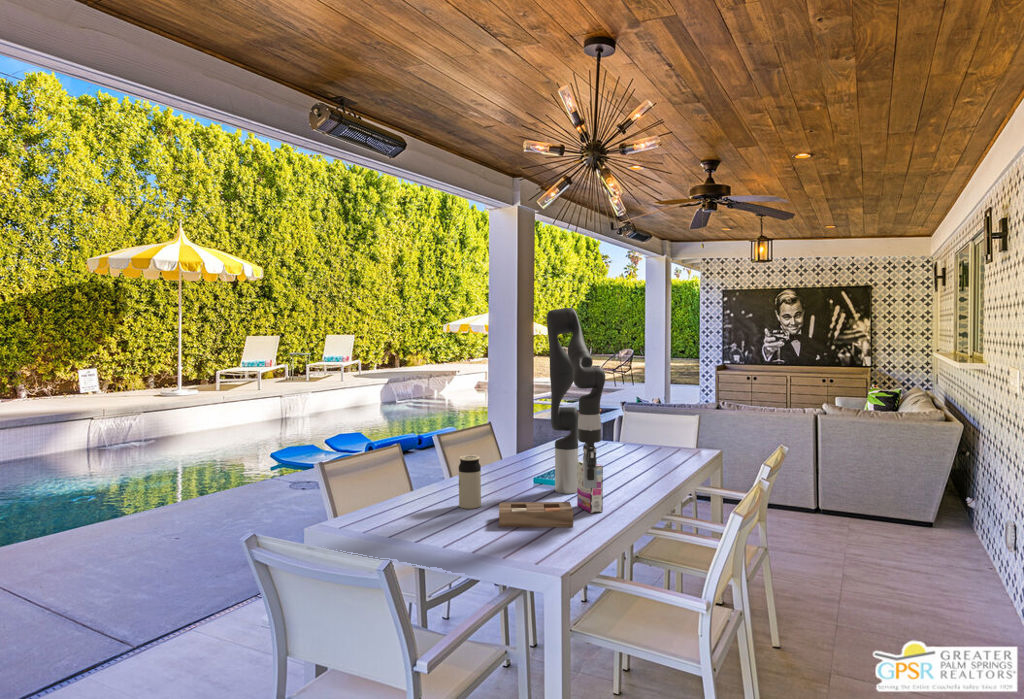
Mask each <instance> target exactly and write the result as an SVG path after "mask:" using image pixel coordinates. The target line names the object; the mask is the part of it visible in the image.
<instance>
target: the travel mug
mask: <svg viewBox="0 0 1024 699" xmlns="http://www.w3.org/2000/svg"><path fill="white" fill-rule="evenodd" d="M458 459H459V462H460V463H459V465H458V506H459V508H461V509H464V510H474V509H478V508H480V507H481V506H482V479H481V478H482V477H481V476H482V474H481V468H482V466H481V464H480V459H481V457H480V456H479V455H475V454H473V455H471V454H470V455H469V454H468V455H461V456H459V458H458Z"/></svg>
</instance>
